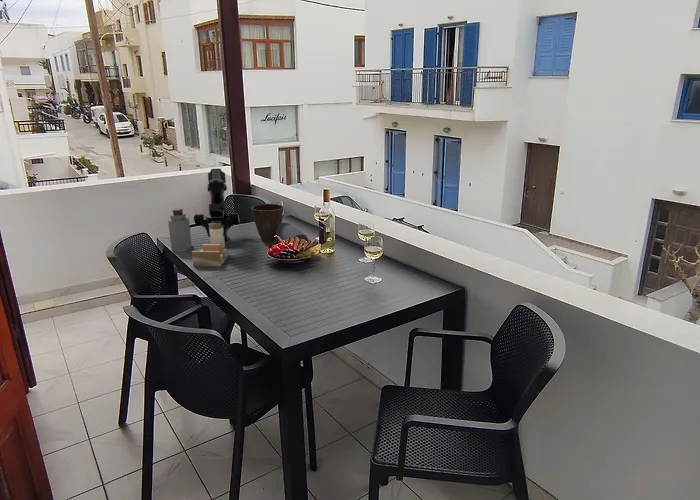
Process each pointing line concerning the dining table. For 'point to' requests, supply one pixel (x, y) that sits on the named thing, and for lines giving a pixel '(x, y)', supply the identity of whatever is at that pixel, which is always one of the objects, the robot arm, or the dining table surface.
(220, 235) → the jar
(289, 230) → the bluetooth speaker
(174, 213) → the perfume bottle
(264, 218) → the plant pot
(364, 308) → the dining table surface
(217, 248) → the plate
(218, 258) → the wooden frame
